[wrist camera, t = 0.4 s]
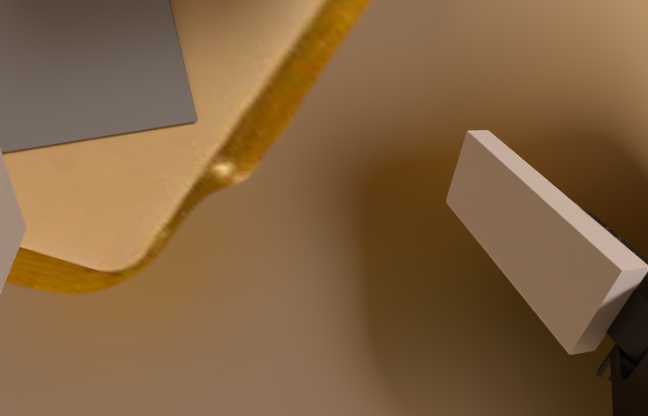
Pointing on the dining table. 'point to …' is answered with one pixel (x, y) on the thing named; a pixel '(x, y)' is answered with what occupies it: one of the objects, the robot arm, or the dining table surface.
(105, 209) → the dining table surface
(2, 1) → the mat
